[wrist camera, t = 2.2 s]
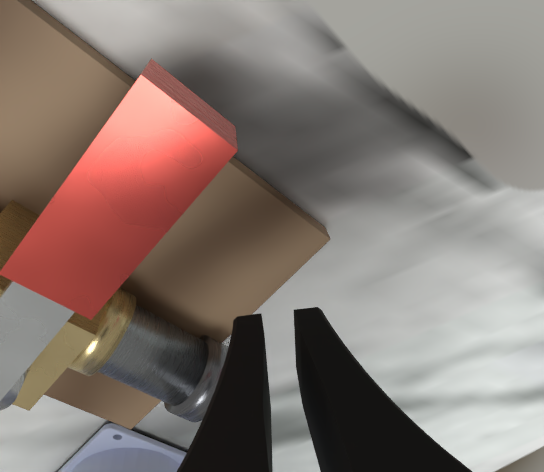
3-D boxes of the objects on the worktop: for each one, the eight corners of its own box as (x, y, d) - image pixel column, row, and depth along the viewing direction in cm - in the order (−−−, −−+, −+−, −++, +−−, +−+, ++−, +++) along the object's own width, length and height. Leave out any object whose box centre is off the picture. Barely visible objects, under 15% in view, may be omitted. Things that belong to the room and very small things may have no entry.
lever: (11, 389, 16) (-12, 439, 15) (-64, 359, 15) (-99, 409, 14) (235, 124, 12) (237, 150, 10) (152, 57, 11) (141, 74, 9)
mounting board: (325, 228, 21) (330, 239, 20) (133, 414, 26) (130, 429, 26) (-202, -179, 12) (-232, -190, 12) (-332, 218, 18) (-359, 231, 17)
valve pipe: (238, 325, 23) (243, 406, 19) (181, 379, 24) (173, 466, 20) (-180, 84, 15) (-328, 130, 11) (-222, 185, 17) (-367, 258, 13)
